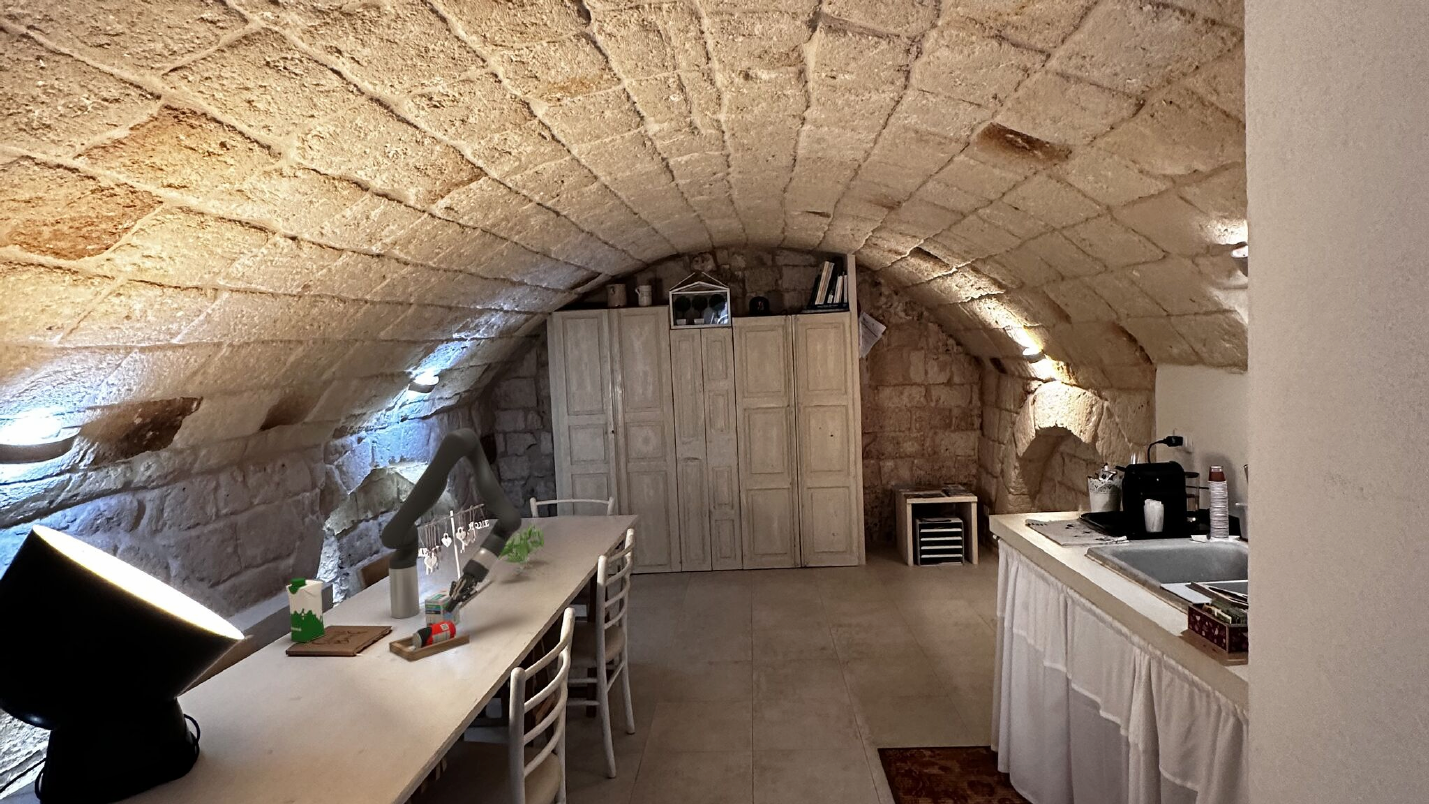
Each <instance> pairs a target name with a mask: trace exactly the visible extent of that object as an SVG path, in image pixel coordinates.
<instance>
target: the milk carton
mask: <svg viewBox="0 0 1429 804" xmlns="http://www.w3.org/2000/svg"><path fill="white" fill-rule="evenodd" d="M323 585H324V582H323V581H318V580H312V579H306V577H296V578H293V579H291V584H289V585H285V588H286V593H287V596H288V601H289V602H288V603H289V614H290V615H289V616H290V641H292V642H293V641H294V642H297V643H303V642H307V641H309V640H312V639H313V638H317V637H319V636H321V635H324V634H325V635H326V633H325V625H324V617H323V601H322V591H323ZM317 639H318V638H317ZM312 641H313V640H312ZM307 643H308V642H307Z"/></svg>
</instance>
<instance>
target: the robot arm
mask: <svg viewBox="0 0 1429 804" xmlns="http://www.w3.org/2000/svg"><path fill="white" fill-rule="evenodd" d="M463 457H465V458H466V459H467V461H468V462H469V464H470V466H471V468H472V470H473V474H474V479H475V483H476V489H477V491H478V493H479V496H480V497H481V499H482V500H483V503H485V505H486V507H487V509H488V510H489V511H491V512H493V514H494V515H495V518H496V519H497V521H496V522H495V523H494V525H493V527H492V528H491V530H490V532H489V534H488V535H487V536H486V538H484V540H483V541H482V543H481V544H480V546H479V547H478V548H477V549H476V550H475V551H474V553H473V554H471V557H470V558H469V560H468V561H467V563H466V564H465V565H464V567H463V568H462V573H463V574H462V576H460V577H459V579H458V580H457V581H455V580H452V581H451V584H450V588H449V591H450V592H449V596H450V597H451V599H450V601H449V602H448V604H447V605H446V607H445V608H444V610H445V611H447V612H449V613H452V611H453V610H454V609H455V607H456V606H457V604H458V603H459V604H460V603H465V602H467V601H468V600H469V599H471V598H473V597H474V596H475V595H476V594H477V593H478V590H477V589H476V588H477V585H478V583H479V584H482V582H484V580H485V579H486V577H488V574H490V573H489V572H490V571H492V569H493V567H494V566H495V564H496V562H497V560H498V558H499V556H500V554H501V553H502V551H503V550H504V548H505V546H506V543H507V542H508V541H510V539H511V537H512V536H513V534H515V533H516V532H518V530H519V529H520V528H521V527H522V523H523V521H522V517H521V514H520V512H519V511H518V510H517V509H516V507H515V506H514V505H513V503H512V502H511V501H510V500H509V499H508V497H507V496H506V494H505V492H504V490H503V489H502V486H501V485H500V484H499V482H498V479H496V477H495V474H494V473H493V470H492V468H491V466H490V463H489V461H488V459H487V456H486V454H485V451H484V448H483V446H482V443H481V441H480V439H479V436H478V435H477V433H476V432H475V431H474V430H473V429H471V428H469V427H463V428H459V429H456V430H453V431H450V432H449V433H447V434H446V435H445V436H444V437H443V439H442V441H441V443H440V445H439V446H438V449H437V451H436V453H435V455H434V456H433V459H432V460H431V462H430V463H429V464H428V465H427V467H426V468H425V470H424V472H423V473H422V474H421V476H420V477H419V478H418V480H417V482H416V483H415V485H414V486H413V488H412V490H411V491H410V492H409V494H408V496H407V497H406V499H405V500H404V501H403V503H402V504H401V506H400V508H399V509H398V510H397V511H396V513H395V514H394V515H393V516H392V518H391V519H389V521H388V522H387V524H386V525H385V526H384V527H383V529H382V532H381V535H380V536H381V537H380V540H381V543H382V545H383V546H384V547H385V548H387V549H389V550H395V552H394V553H393V554H392V556H390V558H389V559H388V565H387V566H388V576H389V577H388V579H389V580H388V581H389V597H390V612H391V613H390V614H391V617H392V618H396V619H402V618H403V619H404V618H410V617H414V616H417V615H419V613H421V611H420V597H419V596H420V593H419V579H418V578H419V577H418V576H419V575H418V574H419V573H418V557H419V553H420V551H419V549H420V548H419V546H420V542H419V541H420V539H419V538H420V537H419V536H420V535H419V530H418V529H419V528H418V526H417V524H416V522H417V521H418V520H419V519H420V518H422V517H423V516H424V515H426V513H428V511H429V512H430V510H431V509H432V508H433V507H435V505H436V504H437V503H438V501H439V500H440V498H441V497H442V496H443V494H444V492H445V490H446V489H447V486H448V480H449V477H450V473H451V471H452V470H453V468H454V467H455V466H456V464H457V463H458V462H459V461H460V460H461V459H462V458H463Z"/></svg>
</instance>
